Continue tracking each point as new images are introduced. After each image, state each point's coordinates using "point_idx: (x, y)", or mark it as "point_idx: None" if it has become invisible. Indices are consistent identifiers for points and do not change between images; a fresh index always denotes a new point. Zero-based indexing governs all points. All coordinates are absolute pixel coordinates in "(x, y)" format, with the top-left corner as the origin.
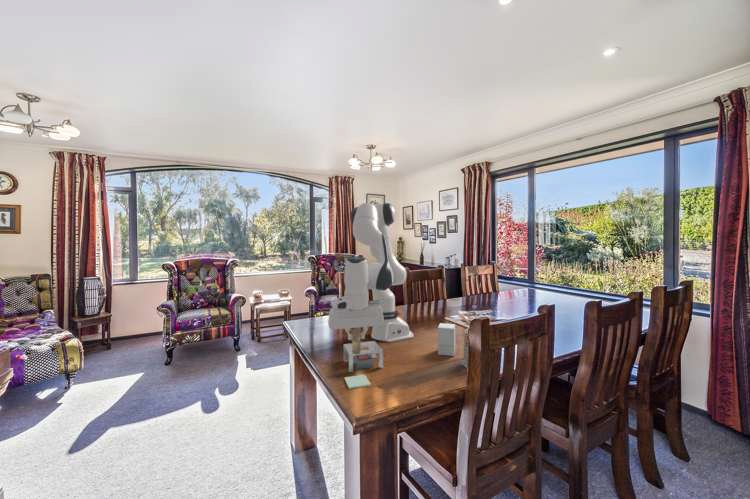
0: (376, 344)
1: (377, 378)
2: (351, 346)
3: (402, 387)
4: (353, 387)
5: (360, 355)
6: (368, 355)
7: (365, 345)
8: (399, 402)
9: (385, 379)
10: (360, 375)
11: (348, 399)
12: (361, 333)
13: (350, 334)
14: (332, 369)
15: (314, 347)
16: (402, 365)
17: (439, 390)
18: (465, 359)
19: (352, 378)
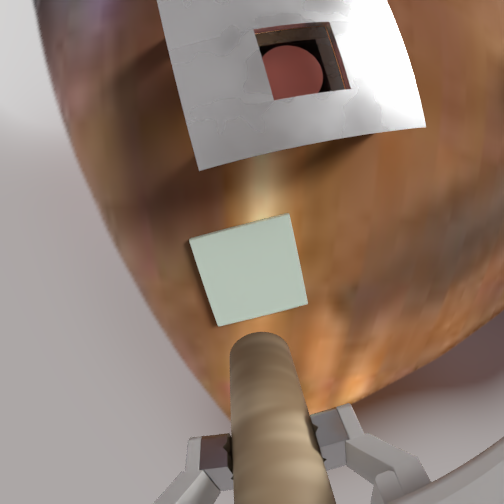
0: (388, 19)
1: (341, 238)
2: (212, 21)
3: (408, 308)
4: (236, 320)
5: (273, 52)
6: (321, 56)
7: (317, 14)
8: (371, 384)
9: (371, 248)
10: (267, 223)
11: (223, 380)
12: (337, 450)
13: (212, 475)
14: (123, 133)
15: None
16: (448, 124)
17: (479, 317)
18: None
19: (228, 251)
